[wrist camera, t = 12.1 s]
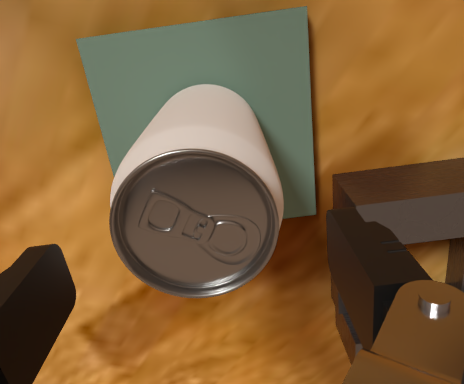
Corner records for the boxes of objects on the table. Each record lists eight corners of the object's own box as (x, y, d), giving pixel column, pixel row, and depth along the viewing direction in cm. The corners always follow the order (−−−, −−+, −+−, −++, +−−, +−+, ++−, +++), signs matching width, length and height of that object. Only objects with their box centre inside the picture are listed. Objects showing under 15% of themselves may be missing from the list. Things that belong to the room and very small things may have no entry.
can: (233, 197, 25) (242, 329, 14) (141, 161, 24) (72, 273, 13) (277, 109, 23) (328, 184, 12) (177, 64, 22) (131, 99, 11)
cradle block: (482, 155, 26) (539, 182, 21) (459, 310, 31) (501, 358, 26) (328, 175, 26) (350, 206, 21) (332, 325, 31) (351, 375, 27)
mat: (302, 7, 22) (306, 6, 21) (312, 207, 27) (316, 214, 26) (83, 38, 22) (75, 39, 21) (134, 229, 27) (130, 237, 26)
